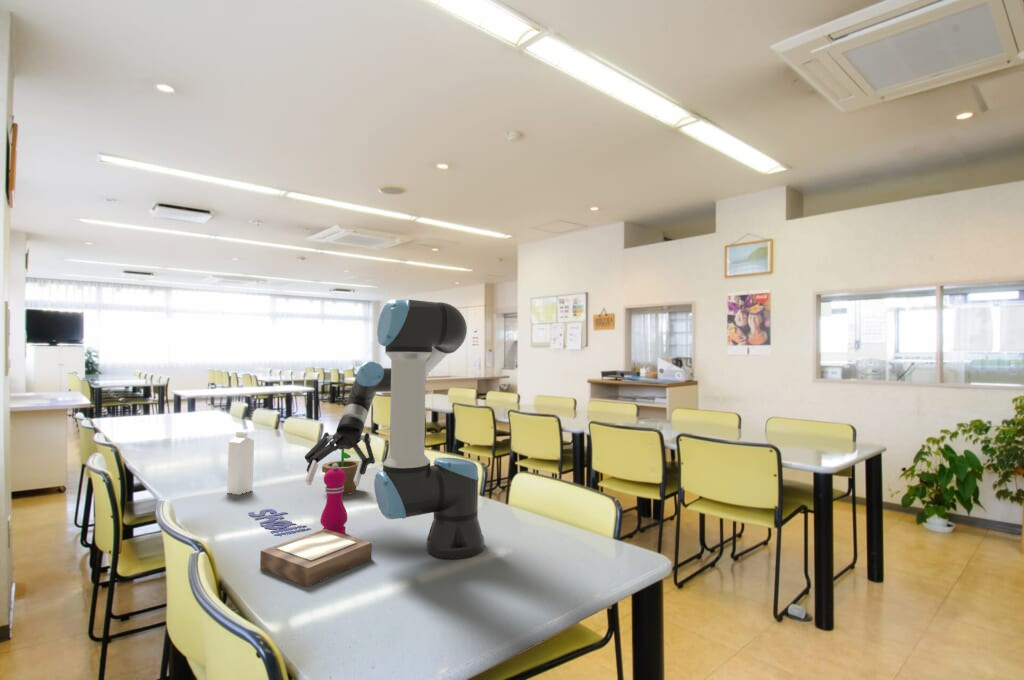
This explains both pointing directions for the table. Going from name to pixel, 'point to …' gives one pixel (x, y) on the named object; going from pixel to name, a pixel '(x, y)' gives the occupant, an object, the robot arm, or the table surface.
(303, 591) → the table surface
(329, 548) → the walnut stand
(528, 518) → the table surface
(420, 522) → the table surface
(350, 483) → the flowerpot
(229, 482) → the milk
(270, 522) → the signage
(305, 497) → the table surface
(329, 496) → the pepper mill
